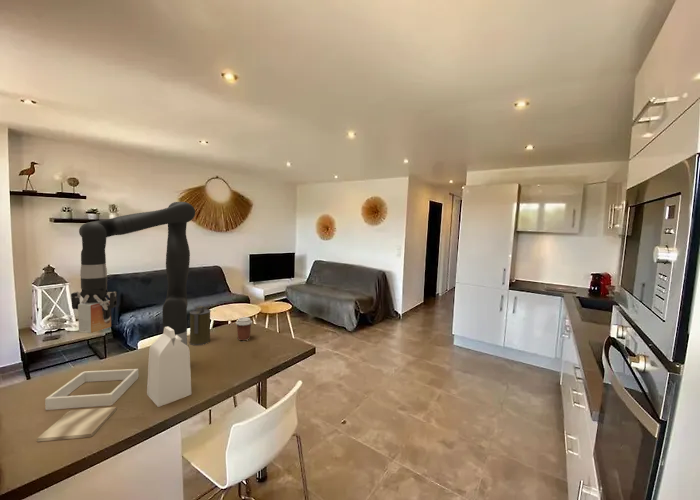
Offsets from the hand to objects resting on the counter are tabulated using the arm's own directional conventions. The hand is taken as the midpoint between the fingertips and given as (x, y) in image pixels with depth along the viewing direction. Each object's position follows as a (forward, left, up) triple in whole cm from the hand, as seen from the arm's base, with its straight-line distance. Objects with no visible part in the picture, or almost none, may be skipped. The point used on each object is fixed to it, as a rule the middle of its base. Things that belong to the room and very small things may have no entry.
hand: (95, 319), depth 114 cm
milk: (-27, +5, -29) cm, 40 cm away
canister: (-24, -49, -29) cm, 62 cm away
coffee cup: (-47, -51, -29) cm, 75 cm away
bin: (0, 0, -29) cm, 29 cm away
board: (-6, +20, -29) cm, 35 cm away
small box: (0, 0, -4) cm, 4 cm away
